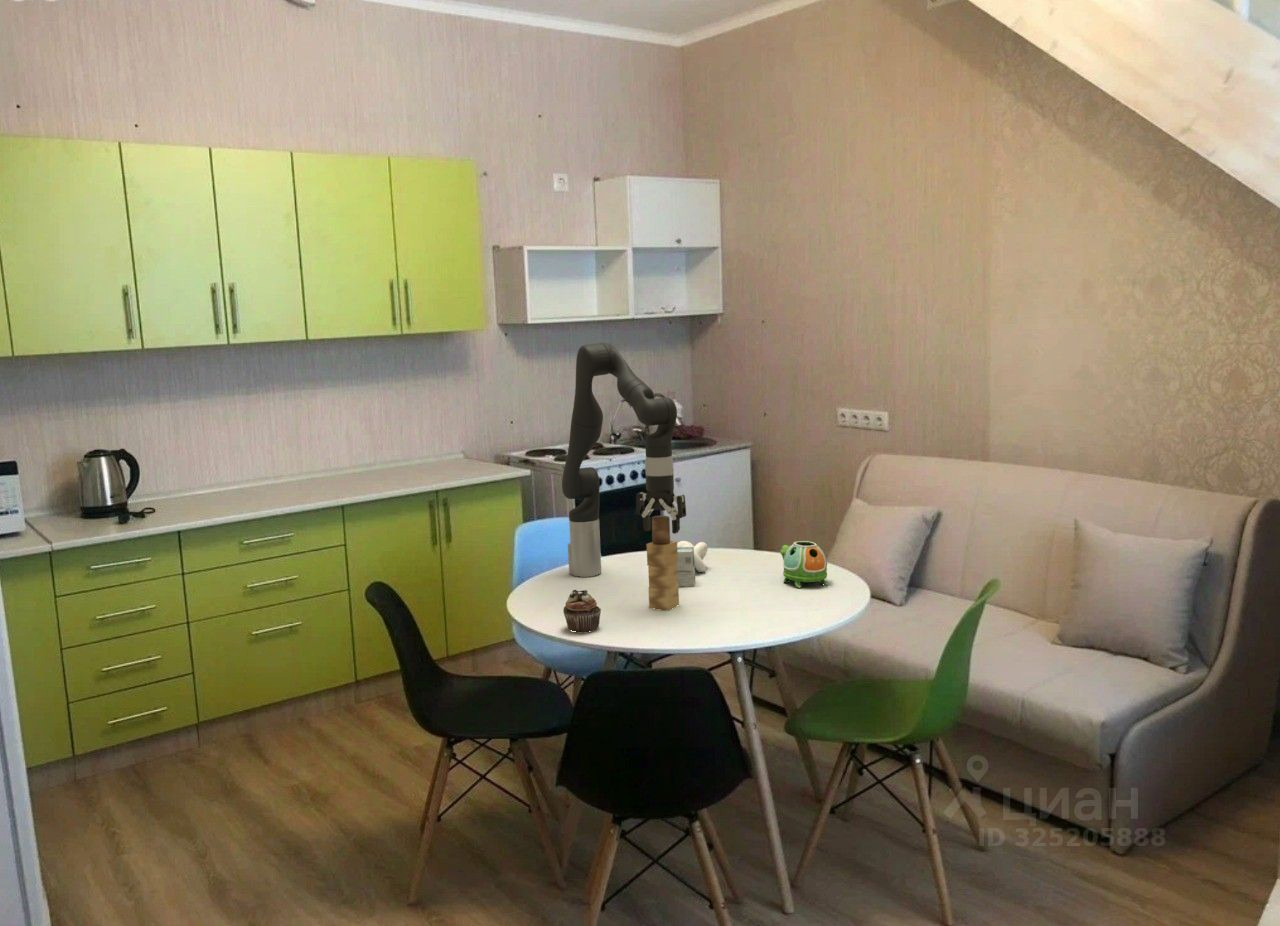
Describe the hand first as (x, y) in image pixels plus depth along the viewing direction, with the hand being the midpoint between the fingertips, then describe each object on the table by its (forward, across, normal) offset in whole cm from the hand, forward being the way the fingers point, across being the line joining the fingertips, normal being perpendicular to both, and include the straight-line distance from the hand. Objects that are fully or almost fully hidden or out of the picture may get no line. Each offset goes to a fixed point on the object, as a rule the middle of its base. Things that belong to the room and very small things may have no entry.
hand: (661, 531), depth 278 cm
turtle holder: (+21, +25, +38) cm, 50 cm away
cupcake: (+21, -10, -25) cm, 34 cm away
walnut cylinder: (+3, 0, 0) cm, 3 cm away
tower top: (+9, 0, 0) cm, 9 cm away
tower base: (+21, 0, 0) cm, 21 cm away
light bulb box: (+21, -8, +22) cm, 32 cm away
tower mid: (+15, 0, 0) cm, 15 cm away
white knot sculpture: (+21, -12, +37) cm, 44 cm away
